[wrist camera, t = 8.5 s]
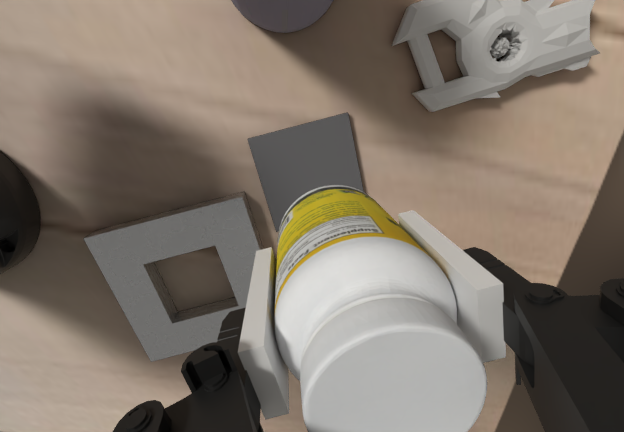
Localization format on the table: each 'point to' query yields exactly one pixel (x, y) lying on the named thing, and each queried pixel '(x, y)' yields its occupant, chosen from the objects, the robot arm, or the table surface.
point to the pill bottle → (370, 322)
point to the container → (282, 13)
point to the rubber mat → (305, 161)
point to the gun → (494, 44)
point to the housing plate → (167, 243)
